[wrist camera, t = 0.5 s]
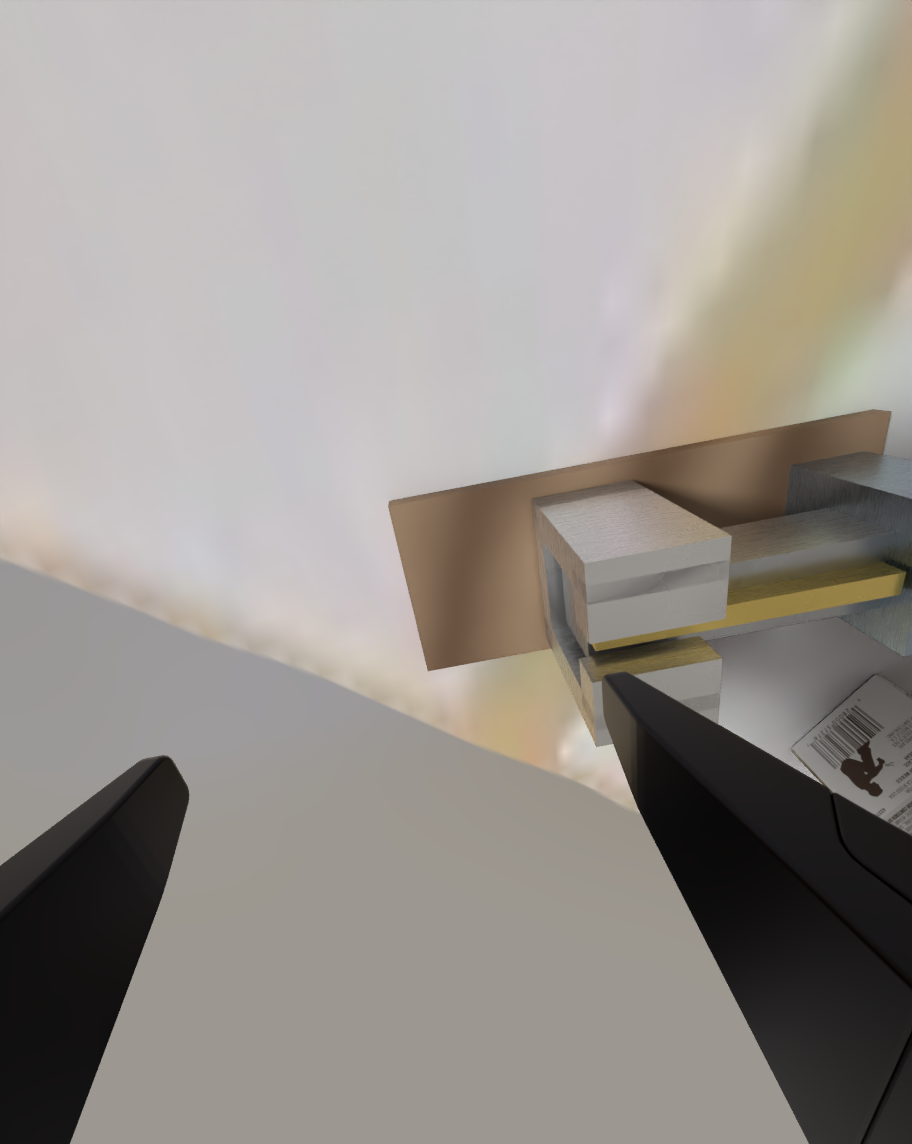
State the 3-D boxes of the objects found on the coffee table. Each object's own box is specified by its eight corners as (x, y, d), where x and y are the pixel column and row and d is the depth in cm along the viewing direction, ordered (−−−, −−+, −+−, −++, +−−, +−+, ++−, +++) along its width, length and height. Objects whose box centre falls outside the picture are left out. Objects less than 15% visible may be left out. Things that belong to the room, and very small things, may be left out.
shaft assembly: (555, 620, 21) (607, 721, 15) (544, 511, 19) (600, 578, 13) (843, 567, 21) (1007, 647, 15) (864, 451, 19) (1064, 491, 13)
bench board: (873, 409, 19) (891, 411, 19) (841, 583, 23) (855, 591, 22) (389, 501, 19) (388, 506, 19) (427, 661, 23) (428, 671, 22)
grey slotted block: (546, 638, 21) (596, 746, 15) (531, 498, 19) (584, 563, 13) (633, 622, 21) (717, 724, 15) (631, 479, 19) (731, 535, 13)
